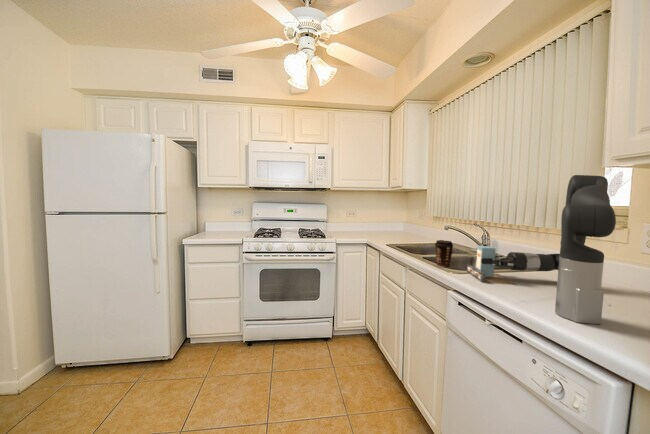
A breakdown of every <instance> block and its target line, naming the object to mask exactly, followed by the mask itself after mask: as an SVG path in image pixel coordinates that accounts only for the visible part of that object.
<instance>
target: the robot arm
mask: <svg viewBox="0 0 650 434" xmlns="http://www.w3.org/2000/svg"><path fill="white" fill-rule="evenodd" d="M608 188H609V182H608V179H607V177H605V176H602V175H588V174H587V175H586V174H585V175H584V174H576V175H575V174H574V175H572V176H571V177H570V179H569V181H568V185H567V189H566V190H567V191H566V198H565V206H564V207H563V208H562V210H561V211H562V212H561V231H560V237H561V239H560V249H559V253H549V254H548V253H547V254H545V253H533V252H532V253H531V252H519V251H518V252H517V251H510V252H508V253H507V256H505V255H503V254H497V253H495V259H494V258H493V259H487V258H482V259H481V263H482V264H492V265H494V266H495V267H501V268H502V267H503V268H508V269H509V270H511V271H520V272H521V271H522V272H524V271H525V272H551V271H553V270H555V271H557V280H556V283H557V284H556V293H555V304H554V305H555V307H554V312H555V314H557V315H558V316H560V317H562V318H565V319H566V320H571V321H573V322H575V323H579V324H580V323H581V324H590V325H602V317H603V316H602V315H603V306H604V303H603V300H604V294H605V291H604V290H602V284H603V283H602V282H603V273H604V263H605V253H604V252H602V251H601V250H599V249H597V248H593V247H590V246H588V245H585V243H586V241H587V240H586V239H587V237H590V238H592V237H593V238H605V237H608V236H610V235H612V233H614V230H615V228H616V224H617V218H616V214H615V210H614V208H613V207H612V205H611V199H610V195H609V193H608ZM475 261H477V255H476V256H475Z"/></svg>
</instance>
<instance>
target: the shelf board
mask: <svg viewBox="0 0 650 434" xmlns="http://www.w3.org/2000/svg"><path fill="white" fill-rule="evenodd" d="M466 273H468V274H470V275H471V277H473V278H475V279H476V280H478V281H479V282H480V283H483V284H493V285H494V284H498V285H511V286H518V284H517V283H515V282H514V281H512V280H510V279H508V278H507V277H504V275H501V274H499V273H495V272H494V277H486V276H485V274H484V273H483V272H481V271H480V270H478V269H476V266H473V265H471V264H467V266H466Z"/></svg>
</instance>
